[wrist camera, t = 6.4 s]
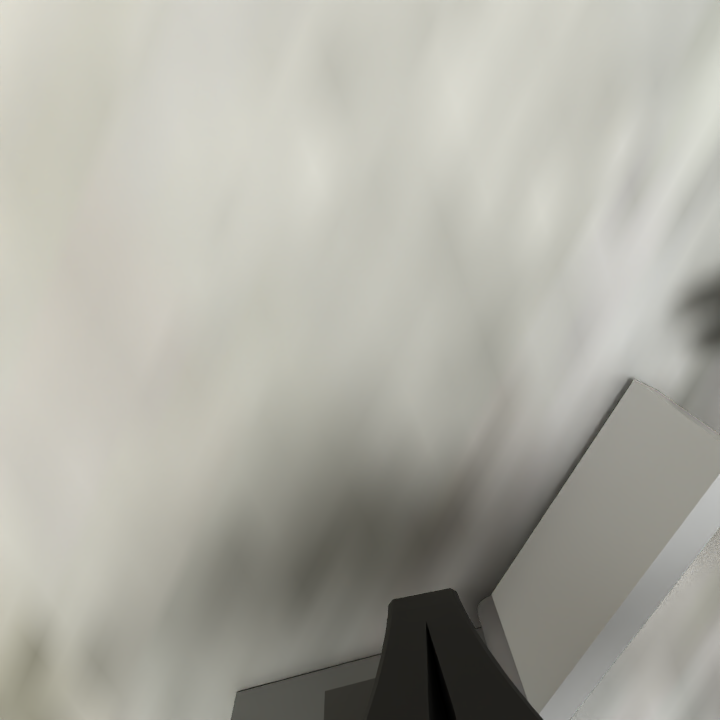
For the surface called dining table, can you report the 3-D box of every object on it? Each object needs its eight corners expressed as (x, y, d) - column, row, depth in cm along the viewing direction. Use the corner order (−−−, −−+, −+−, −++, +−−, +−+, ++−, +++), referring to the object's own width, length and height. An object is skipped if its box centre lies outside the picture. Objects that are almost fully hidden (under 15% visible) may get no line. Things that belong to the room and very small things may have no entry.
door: (470, 616, 16) (507, 745, 12) (628, 376, 14) (728, 449, 10) (515, 633, 16) (563, 765, 13) (677, 400, 14) (792, 479, 11)
